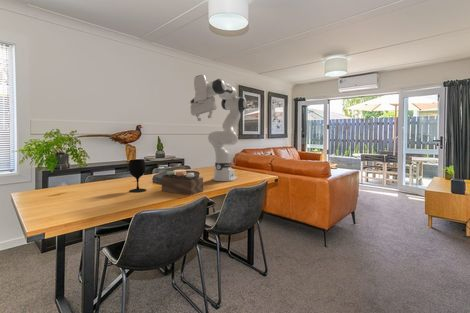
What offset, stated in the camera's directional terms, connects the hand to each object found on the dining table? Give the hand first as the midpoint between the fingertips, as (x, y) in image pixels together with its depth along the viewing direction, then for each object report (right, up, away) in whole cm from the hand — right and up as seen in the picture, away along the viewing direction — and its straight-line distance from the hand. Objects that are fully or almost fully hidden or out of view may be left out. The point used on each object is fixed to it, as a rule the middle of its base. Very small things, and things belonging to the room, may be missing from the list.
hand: (204, 119), depth 174 cm
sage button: (-22, -37, -4) cm, 43 cm away
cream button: (-8, -37, -12) cm, 40 cm away
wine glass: (-43, -47, -5) cm, 64 cm away
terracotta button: (-15, -37, -8) cm, 41 cm away
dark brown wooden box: (-14, -47, -5) cm, 49 cm away
